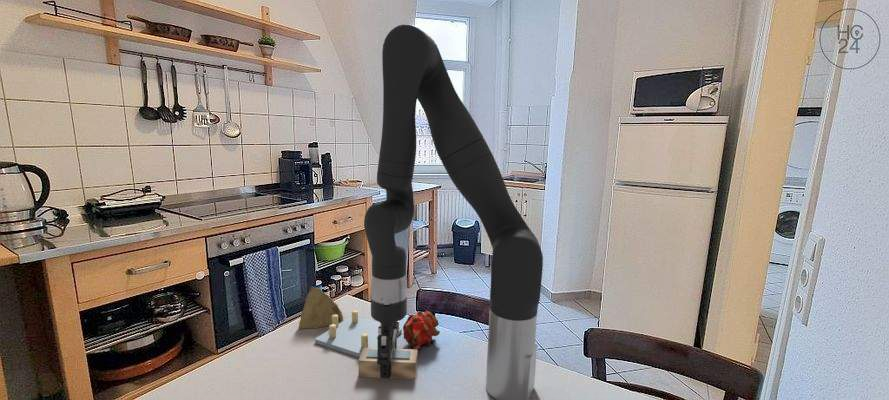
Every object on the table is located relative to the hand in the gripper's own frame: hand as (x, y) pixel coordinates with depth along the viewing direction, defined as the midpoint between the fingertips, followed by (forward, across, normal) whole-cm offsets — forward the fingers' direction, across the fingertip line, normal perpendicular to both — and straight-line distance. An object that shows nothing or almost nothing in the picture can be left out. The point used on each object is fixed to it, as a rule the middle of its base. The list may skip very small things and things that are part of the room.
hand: (388, 364), depth 83 cm
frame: (+2, 0, 0) cm, 2 cm away
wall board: (+1, -13, -9) cm, 16 cm away
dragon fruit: (+2, -11, +6) cm, 13 cm away
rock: (+2, -20, -21) cm, 28 cm away
